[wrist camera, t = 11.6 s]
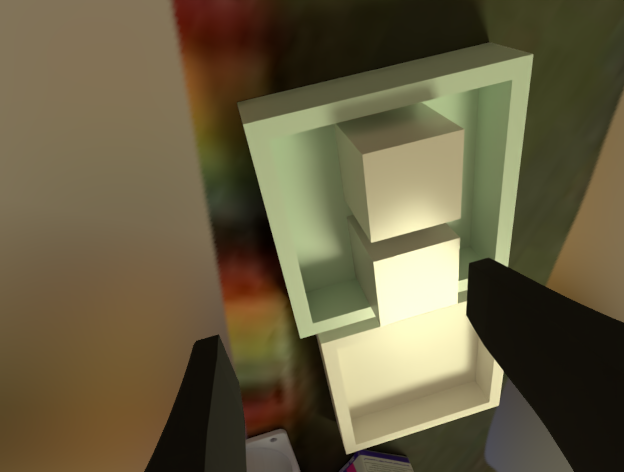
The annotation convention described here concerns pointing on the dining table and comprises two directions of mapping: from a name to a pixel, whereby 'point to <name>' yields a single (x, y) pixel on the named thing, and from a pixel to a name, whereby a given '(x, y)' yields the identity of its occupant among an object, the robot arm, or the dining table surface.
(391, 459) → the supplement box
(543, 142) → the dining table surface
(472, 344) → the tray
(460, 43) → the dining table surface
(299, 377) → the dining table surface
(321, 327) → the tub
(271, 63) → the dining table surface
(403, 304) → the cream cube block
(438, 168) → the ivory sharp-edged cube
